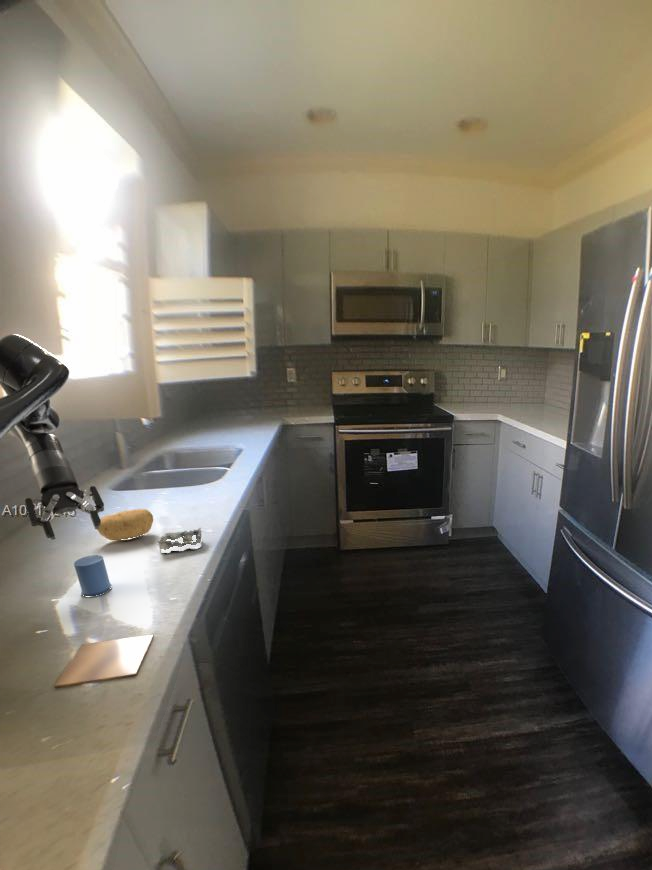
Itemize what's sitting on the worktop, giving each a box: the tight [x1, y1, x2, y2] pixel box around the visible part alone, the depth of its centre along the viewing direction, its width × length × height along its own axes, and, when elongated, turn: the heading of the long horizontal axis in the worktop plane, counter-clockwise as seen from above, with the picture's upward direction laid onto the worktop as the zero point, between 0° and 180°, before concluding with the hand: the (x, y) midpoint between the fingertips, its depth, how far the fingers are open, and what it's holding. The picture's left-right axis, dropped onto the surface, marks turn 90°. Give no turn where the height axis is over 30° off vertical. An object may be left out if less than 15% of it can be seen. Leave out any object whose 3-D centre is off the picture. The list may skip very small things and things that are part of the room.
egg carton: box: [157, 527, 203, 550], centre depth 121 cm, size 11×8×4 cm
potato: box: [96, 508, 154, 541], centre depth 127 cm, size 10×14×8 cm
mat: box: [54, 634, 155, 689], centre depth 78 cm, size 12×11×1 cm
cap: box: [73, 554, 113, 596], centre depth 100 cm, size 6×6×8 cm
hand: (75, 532), depth 103 cm, fingers open, 8 cm apart
